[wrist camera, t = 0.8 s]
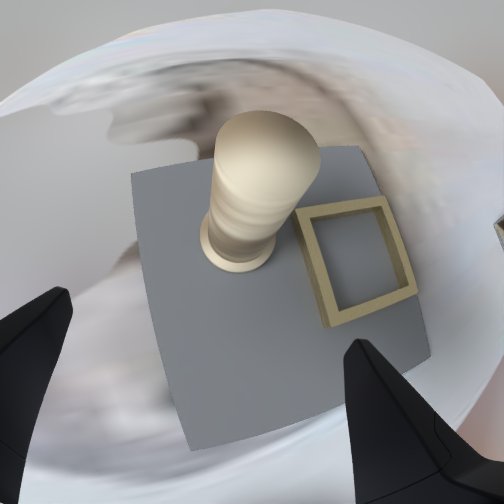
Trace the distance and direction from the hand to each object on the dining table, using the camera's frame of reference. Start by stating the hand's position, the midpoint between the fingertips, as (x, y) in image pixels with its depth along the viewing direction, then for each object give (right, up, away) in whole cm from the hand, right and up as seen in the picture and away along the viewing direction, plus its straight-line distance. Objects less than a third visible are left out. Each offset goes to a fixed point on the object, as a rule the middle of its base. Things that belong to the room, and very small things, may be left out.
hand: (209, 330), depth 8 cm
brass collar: (+11, +2, +17) cm, 20 cm away
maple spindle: (0, +3, +15) cm, 16 cm away
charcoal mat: (+5, 0, +16) cm, 17 cm away
